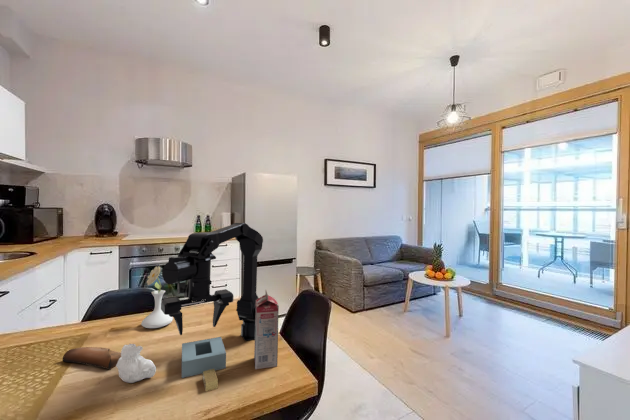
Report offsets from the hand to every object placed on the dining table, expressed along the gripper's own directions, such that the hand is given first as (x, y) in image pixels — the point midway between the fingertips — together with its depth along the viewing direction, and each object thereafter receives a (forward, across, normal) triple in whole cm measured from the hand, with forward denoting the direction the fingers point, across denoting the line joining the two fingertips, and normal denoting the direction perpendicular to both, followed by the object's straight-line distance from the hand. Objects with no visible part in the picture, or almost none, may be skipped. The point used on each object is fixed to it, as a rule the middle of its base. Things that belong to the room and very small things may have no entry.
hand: (198, 330), depth 78 cm
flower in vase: (+13, +3, -45) cm, 47 cm away
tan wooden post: (+13, -2, +6) cm, 15 cm away
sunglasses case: (+14, +22, -27) cm, 38 cm away
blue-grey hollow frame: (+13, -4, -6) cm, 14 cm away
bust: (+13, +14, -9) cm, 21 cm away
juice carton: (+13, -19, +6) cm, 24 cm away
